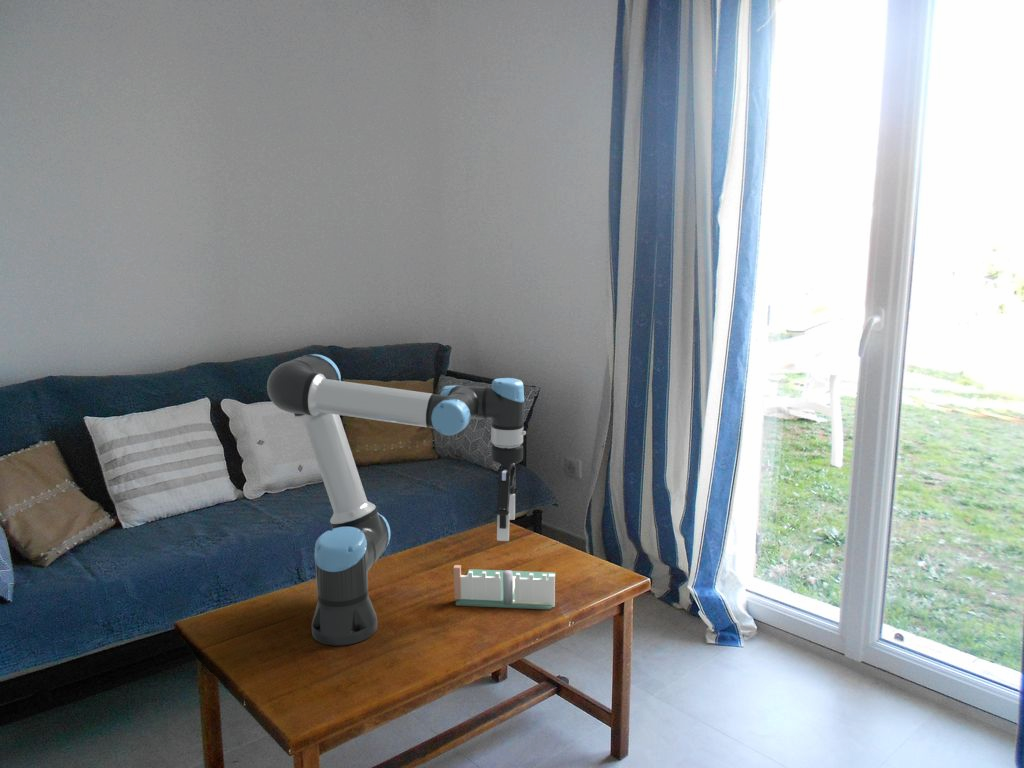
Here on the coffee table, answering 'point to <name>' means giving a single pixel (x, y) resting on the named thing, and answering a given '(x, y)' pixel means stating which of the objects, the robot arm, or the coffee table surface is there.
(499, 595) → the white crenellated wall
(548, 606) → the board
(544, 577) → the fixed fence
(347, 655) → the coffee table surface
